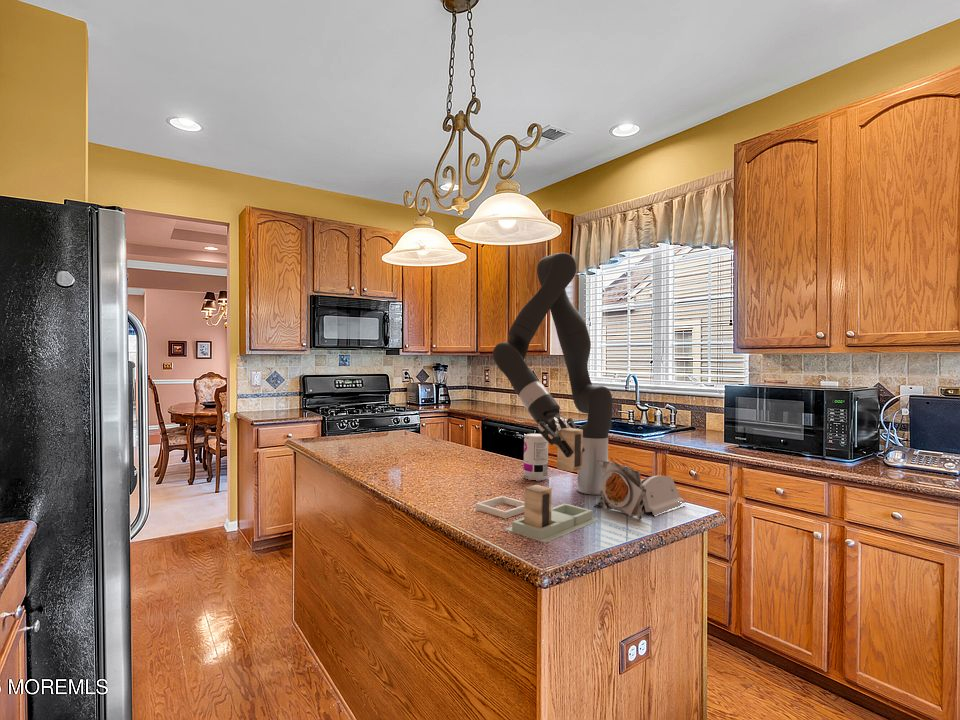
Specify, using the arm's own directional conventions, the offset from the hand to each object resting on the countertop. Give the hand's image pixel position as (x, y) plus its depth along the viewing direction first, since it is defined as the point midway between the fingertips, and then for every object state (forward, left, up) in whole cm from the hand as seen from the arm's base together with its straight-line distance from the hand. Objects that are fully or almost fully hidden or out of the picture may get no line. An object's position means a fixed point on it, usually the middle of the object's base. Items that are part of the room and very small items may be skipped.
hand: (576, 453), depth 126 cm
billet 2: (0, -2, -4) cm, 4 cm away
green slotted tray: (+7, -1, -18) cm, 19 cm away
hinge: (-30, +3, -18) cm, 35 cm away
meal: (-16, 0, -18) cm, 24 cm away
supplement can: (-23, -41, -18) cm, 50 cm away
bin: (+10, -17, -18) cm, 26 cm away
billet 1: (+13, 0, -17) cm, 21 cm away
